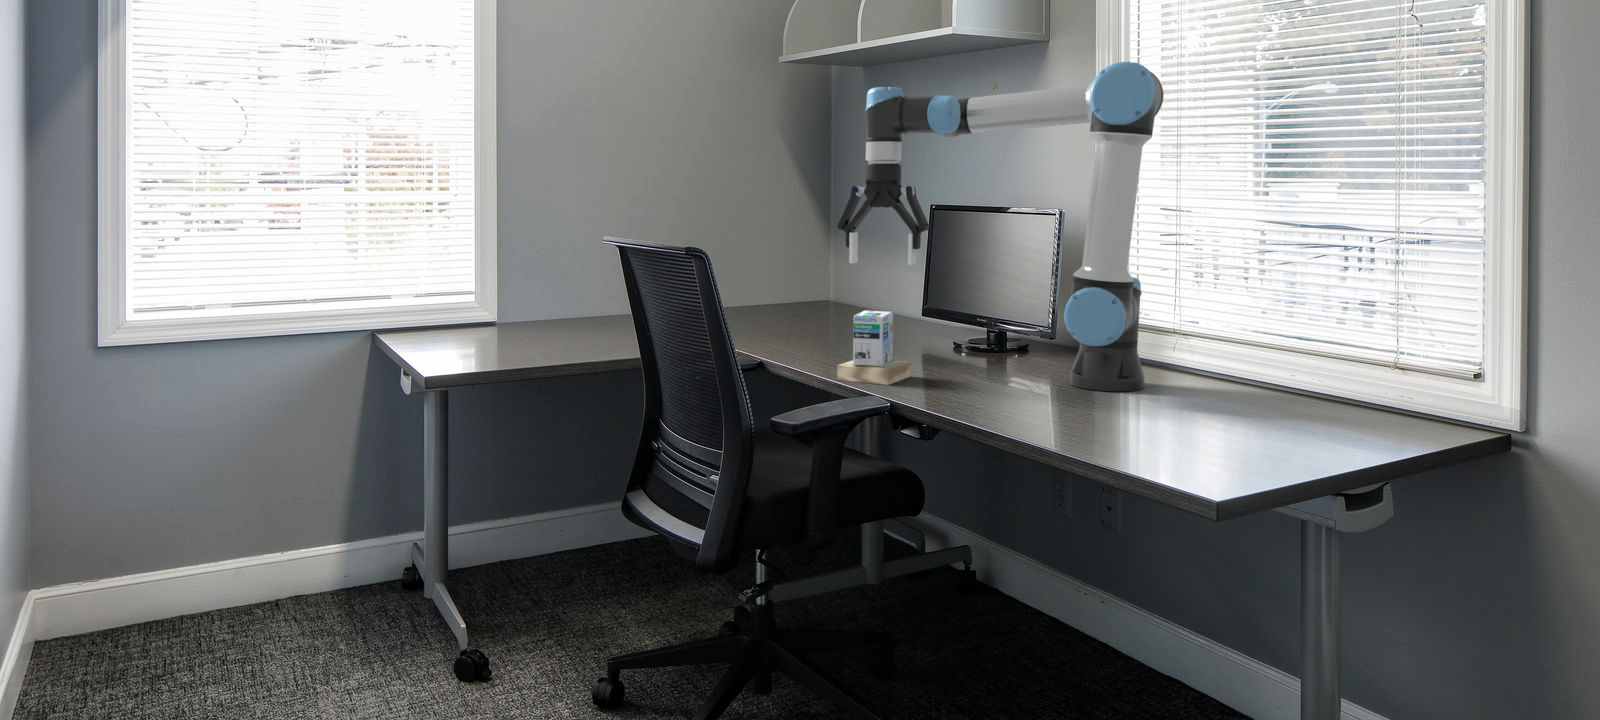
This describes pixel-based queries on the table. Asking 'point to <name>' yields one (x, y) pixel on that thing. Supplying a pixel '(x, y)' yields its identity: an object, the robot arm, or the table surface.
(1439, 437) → the table surface
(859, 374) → the block
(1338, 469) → the table surface
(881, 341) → the light bulb box
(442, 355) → the table surface
